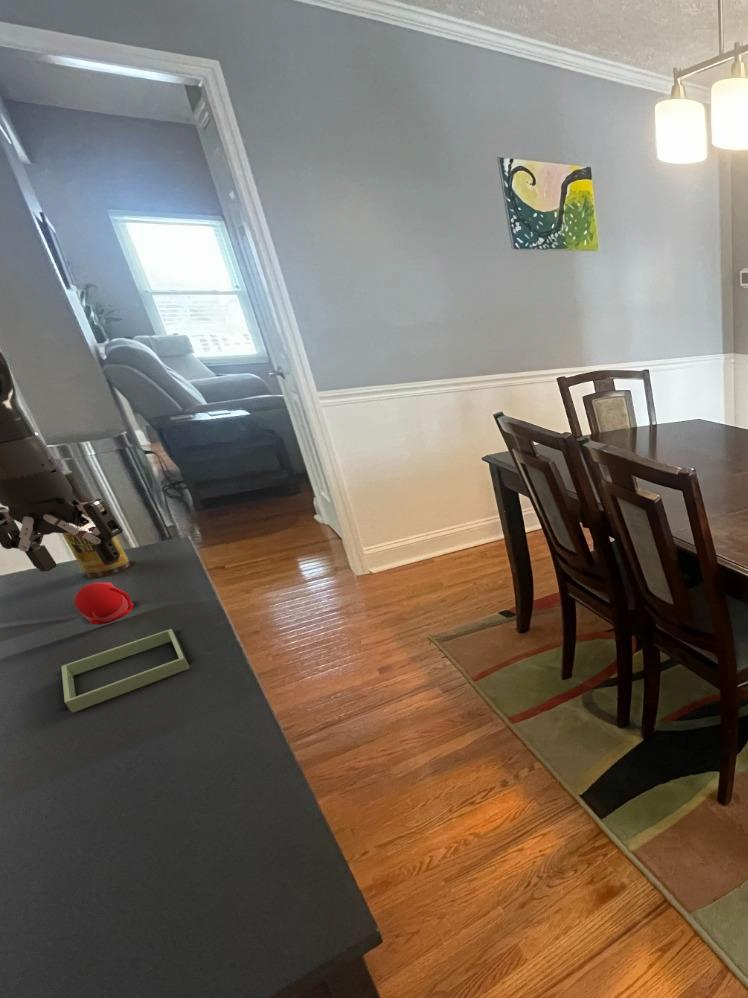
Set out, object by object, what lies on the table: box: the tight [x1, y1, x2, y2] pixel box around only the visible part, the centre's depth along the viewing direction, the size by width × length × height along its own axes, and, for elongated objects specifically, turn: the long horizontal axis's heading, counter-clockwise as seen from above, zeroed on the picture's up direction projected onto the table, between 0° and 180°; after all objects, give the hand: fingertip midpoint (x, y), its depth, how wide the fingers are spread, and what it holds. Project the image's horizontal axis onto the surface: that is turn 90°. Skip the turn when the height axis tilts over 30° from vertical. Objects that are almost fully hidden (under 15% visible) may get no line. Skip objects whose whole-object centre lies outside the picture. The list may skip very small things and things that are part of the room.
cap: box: [74, 581, 135, 626], centre depth 97 cm, size 8×6×6 cm
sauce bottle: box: [61, 470, 131, 579], centre depth 109 cm, size 6×6×20 cm
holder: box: [60, 628, 191, 714], centre depth 84 cm, size 12×12×2 cm
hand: (81, 565), depth 95 cm, fingers open, 8 cm apart
